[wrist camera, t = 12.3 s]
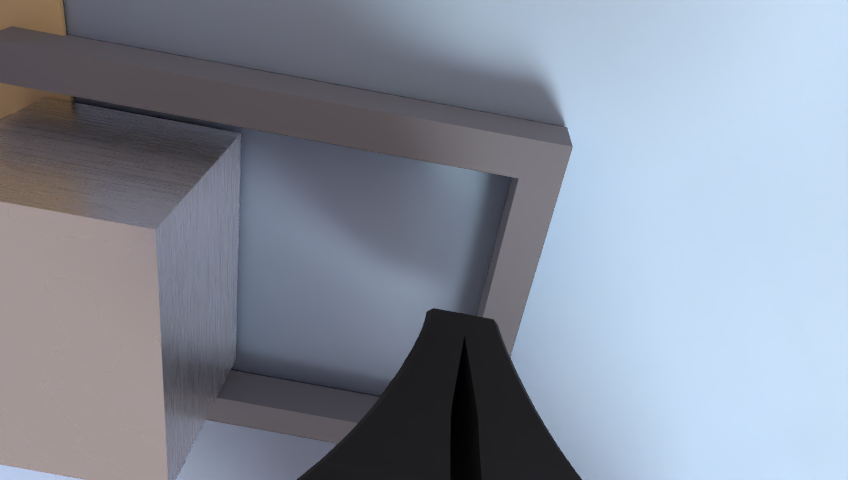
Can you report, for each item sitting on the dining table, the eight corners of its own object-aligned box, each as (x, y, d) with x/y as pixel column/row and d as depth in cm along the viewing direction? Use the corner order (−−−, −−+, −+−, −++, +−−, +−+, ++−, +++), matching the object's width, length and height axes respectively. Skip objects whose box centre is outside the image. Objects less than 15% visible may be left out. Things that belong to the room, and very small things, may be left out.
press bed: (617, -49, 11) (628, -42, 10) (454, 516, 19) (453, 548, 18) (-370, -236, 11) (-442, -242, 10) (-135, 411, 19) (-165, 438, 18)
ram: (241, 132, 13) (156, 229, 10) (235, 359, 16) (168, 494, 13) (14, 91, 13) (-151, 173, 10) (50, 326, 16) (-67, 451, 13)
